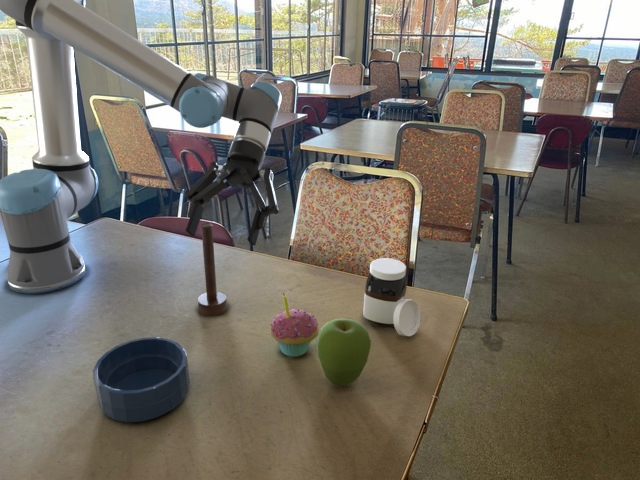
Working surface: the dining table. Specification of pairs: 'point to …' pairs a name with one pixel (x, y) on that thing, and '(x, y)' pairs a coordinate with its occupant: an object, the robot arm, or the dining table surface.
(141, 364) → the bowl
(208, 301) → the wooden peg stand
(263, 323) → the dining table surface
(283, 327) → the cupcake
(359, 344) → the apple
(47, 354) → the dining table surface
